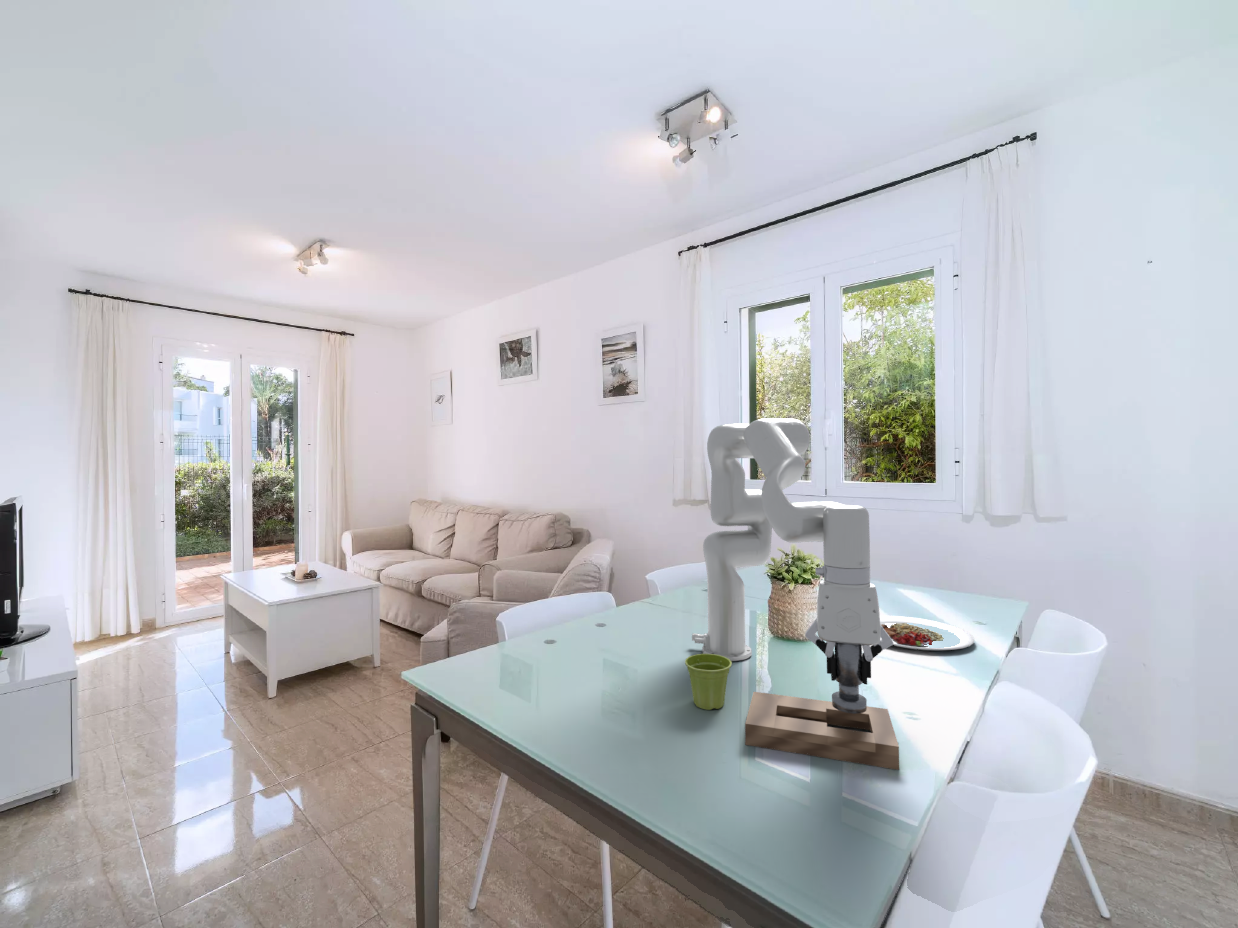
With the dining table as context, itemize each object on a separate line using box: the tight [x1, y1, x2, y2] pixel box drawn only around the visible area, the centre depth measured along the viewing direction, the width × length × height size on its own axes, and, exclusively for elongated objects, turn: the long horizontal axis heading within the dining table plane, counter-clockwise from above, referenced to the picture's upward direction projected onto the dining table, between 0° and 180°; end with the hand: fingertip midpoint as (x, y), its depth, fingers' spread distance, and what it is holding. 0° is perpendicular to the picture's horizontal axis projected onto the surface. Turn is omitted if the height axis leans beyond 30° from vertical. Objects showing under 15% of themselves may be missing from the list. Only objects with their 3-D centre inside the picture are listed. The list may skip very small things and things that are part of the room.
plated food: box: [880, 615, 975, 651], centre depth 151 cm, size 30×30×3 cm
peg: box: [831, 642, 868, 714], centre depth 94 cm, size 6×6×13 cm
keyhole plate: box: [744, 691, 900, 771], centre depth 96 cm, size 24×14×4 cm, turn 70°
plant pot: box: [684, 653, 733, 711], centre depth 110 cm, size 9×9×9 cm
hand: (848, 678), depth 94 cm, fingers closed on peg, 4 cm apart
